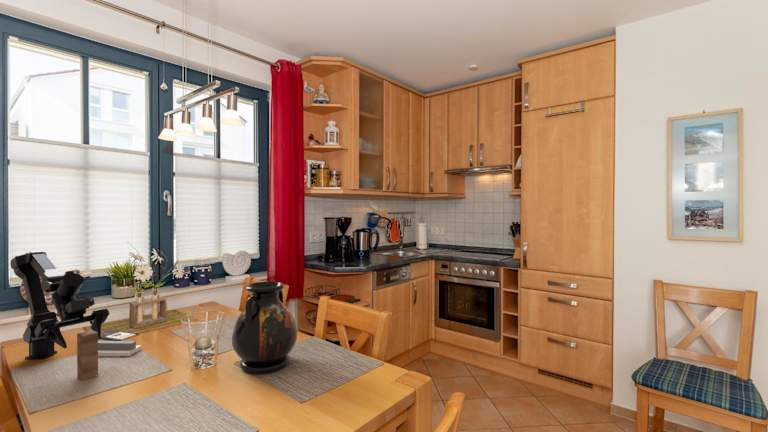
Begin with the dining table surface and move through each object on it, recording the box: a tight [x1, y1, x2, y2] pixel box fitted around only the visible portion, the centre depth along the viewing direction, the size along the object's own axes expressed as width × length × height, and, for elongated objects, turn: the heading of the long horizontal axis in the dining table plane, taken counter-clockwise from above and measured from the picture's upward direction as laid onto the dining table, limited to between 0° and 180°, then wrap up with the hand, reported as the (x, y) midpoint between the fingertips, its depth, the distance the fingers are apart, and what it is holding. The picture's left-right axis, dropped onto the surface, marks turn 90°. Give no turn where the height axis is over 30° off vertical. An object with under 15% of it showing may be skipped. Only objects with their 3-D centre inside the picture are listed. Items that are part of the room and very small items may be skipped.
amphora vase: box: [231, 281, 298, 375], centre depth 129 cm, size 22×22×28 cm
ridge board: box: [98, 340, 142, 357], centre depth 139 cm, size 18×7×4 cm, turn 89°
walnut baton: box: [76, 329, 99, 381], centre depth 120 cm, size 4×4×14 cm
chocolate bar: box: [99, 328, 140, 341], centre depth 158 cm, size 9×1×18 cm
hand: (83, 343), depth 121 cm, fingers open, 9 cm apart
